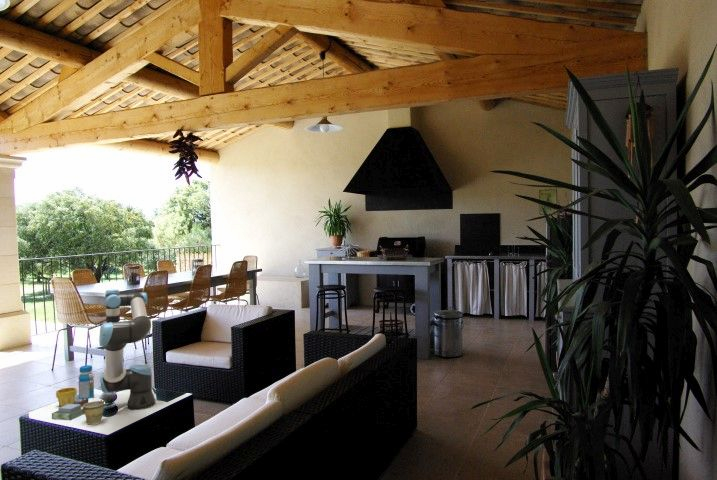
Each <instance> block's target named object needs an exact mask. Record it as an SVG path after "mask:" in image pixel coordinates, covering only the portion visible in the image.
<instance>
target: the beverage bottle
mask: <svg viewBox="0 0 717 480" xmlns="http://www.w3.org/2000/svg"><path fill="white" fill-rule="evenodd" d="M92 371H93V365H90V364H89V365H81V366H80V367H79V375H78V381H77V382H78V383H77V384H78V399H79V400H85V399H87V398H88V399H94V398H95V379H94V378H95V377H94V374H93V372H92Z"/></svg>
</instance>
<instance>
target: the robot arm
mask: <svg viewBox="0 0 717 480" xmlns="http://www.w3.org/2000/svg"><path fill="white" fill-rule="evenodd" d="M147 304H148V294H147V292H141V291H139V292H130V293H120V290H119V289H107V290H105V322H104V323H102V324H101V325H100V329H99V338H98V339H99V340H98V343H99V344H98V345H99V346H100V347H103V348H104V349H105V369H104V370H103V371H102V372H101V373H100V374H99V381H100V382H99V383H100V389H101V391H102V393H104V394H112V393H115V392H123V391H128V390H129V392H130V393H129V397H128V400H127V403H126V409H127V410H132V411H133V410H134V411H137V410H145V409H149V408H151V406H152V407H154V406H155V405H156V398H155V395H154V392H153V381H152V378H153V377H152V375H153V373H152V368H151V366H149V365H146V364H132V365H130V366H129V368H125V367H124V354H125V353H124V352H125V350H124V349H125V347H126V345H128V344H133V343H138V342H140V341H142V340H143V339H145V337H147V335H149V332H150V331H151V329H152V322H151V319H150V318H149V317H148V311H147V308H146V305H147ZM121 307H130V310H131V316H132V320H125V321H124V320H123V321H120V320H121V315H120V314H121V310H120V309H121ZM154 404H155V405H154ZM153 405H154V406H153ZM148 407H149V408H148Z"/></svg>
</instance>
